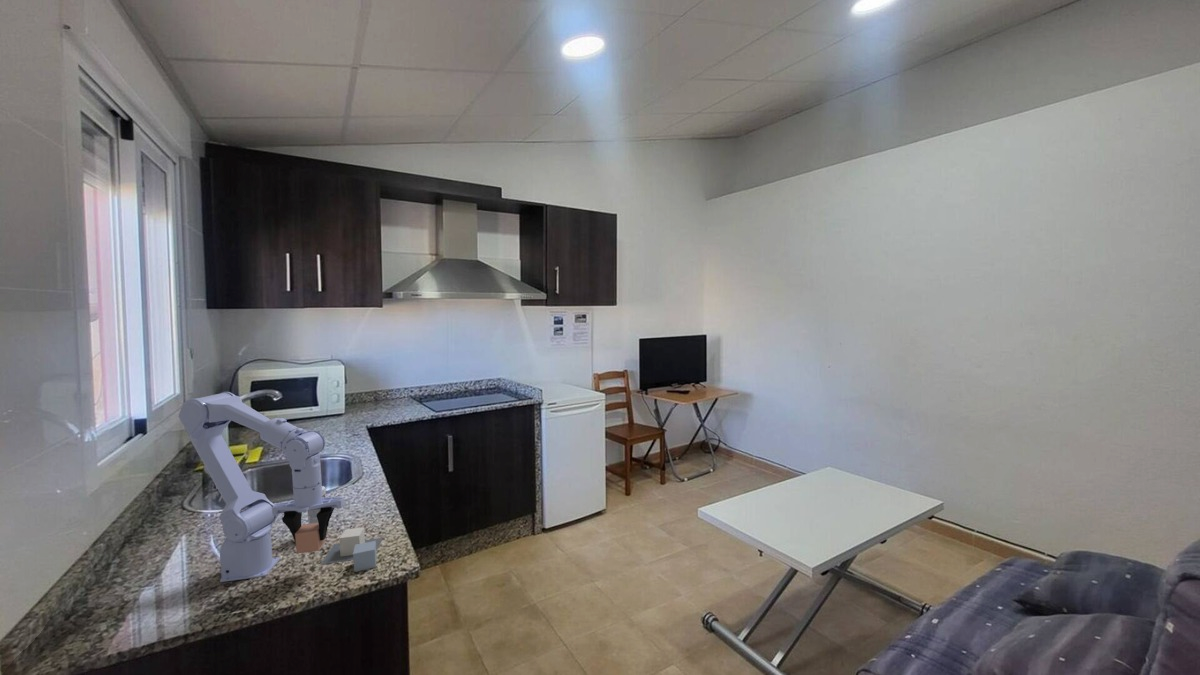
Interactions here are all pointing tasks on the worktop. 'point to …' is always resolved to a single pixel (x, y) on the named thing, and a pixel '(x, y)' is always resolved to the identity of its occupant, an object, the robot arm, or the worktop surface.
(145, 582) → the worktop surface
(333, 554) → the mat
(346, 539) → the cream brick
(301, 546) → the terracotta brick
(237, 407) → the robot arm
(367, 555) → the slate brick
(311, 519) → the sprinkles bottle
